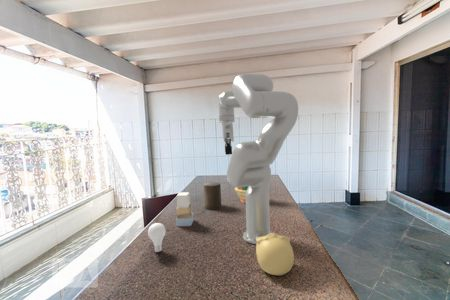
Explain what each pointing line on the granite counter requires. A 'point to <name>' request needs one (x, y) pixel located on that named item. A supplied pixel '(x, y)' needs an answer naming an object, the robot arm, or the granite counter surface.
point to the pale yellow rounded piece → (275, 254)
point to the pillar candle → (212, 195)
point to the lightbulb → (157, 235)
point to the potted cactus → (241, 192)
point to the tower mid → (183, 212)
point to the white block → (183, 200)
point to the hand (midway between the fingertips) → (228, 153)
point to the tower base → (185, 221)
